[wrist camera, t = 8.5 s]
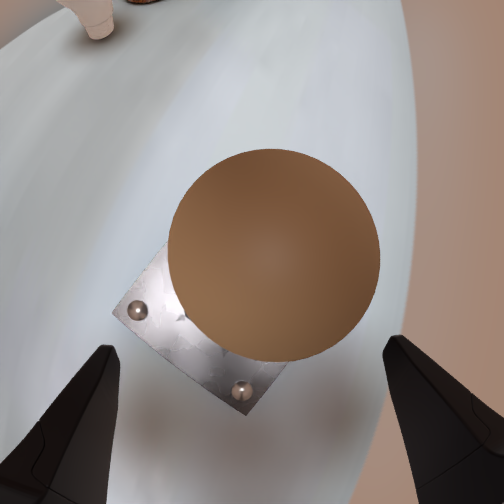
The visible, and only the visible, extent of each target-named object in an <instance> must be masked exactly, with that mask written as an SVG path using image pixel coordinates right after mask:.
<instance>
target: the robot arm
mask: <svg viewBox="0 0 504 504" xmlns="http://www.w3.org/2000/svg"><path fill="white" fill-rule="evenodd" d="M382 356H383V362H384V366H385V371H386V376H387V381H388V386H389V391H390V395H391V398H392V402H393V405H394V409H395V412H396V415H397V419H398V422H399V425H400V429H401V433H402V436H403V440H404V443H405V447H406V451H407V455H408V459H409V463H410V466H411V471H412V475H413V479H414V483H415V488H416V493H417V497H418V502H419V504H504V418H503V417H502V416H501V415H499V414H498V413H496V412H495V411H494V410H492V409H491V408H489V407H488V406H487V405H486V404H485V403H483V402H482V401H481V400H480V399H478V398H477V397H476V396H475V395H474V394H473V393H471V392H470V391H469V390H468V389H467V388H465V387H464V386H463V385H462V384H461V383H460V382H458V381H457V380H456V379H455V378H454V377H453V376H451V375H450V374H449V373H448V372H447V371H445V370H444V369H443V368H442V367H441V366H439V365H438V364H437V363H436V362H435V361H433V360H432V359H431V358H430V357H429V356H427V355H426V354H425V353H424V352H423V351H421V350H420V349H419V348H418V347H417V346H415V345H414V344H413V343H412V342H410V341H409V340H408V339H407V338H405V337H404V336H403V335H394V336H391V337H390V338H389V340H388V342H387V344H386V346H385V348H384V350H383V354H382ZM119 378H120V361H119V358H118V356H117V353H116V350H115V348H114V346H113V345H100V346H99V347H98V348H97V350H96V351H95V352H94V353H93V354H92V355H91V357H90V358H89V359H88V360H87V361H86V363H85V364H84V365H83V366H82V367H81V369H80V370H79V371H78V372H77V373H76V375H75V376H74V377H73V378H72V379H71V381H70V382H69V383H68V384H67V385H66V387H65V388H64V389H63V390H62V392H61V393H60V394H59V395H58V397H57V398H56V399H55V400H54V401H53V403H52V404H51V405H50V406H49V408H48V409H47V410H46V412H45V413H44V414H43V415H42V417H41V418H40V419H39V421H38V422H37V423H36V424H35V425H34V427H33V428H32V429H31V430H30V432H29V433H28V434H27V435H26V437H25V438H24V439H23V440H22V441H21V442H20V443H19V445H18V446H17V447H16V448H15V449H14V450H13V451H12V452H11V453H10V454H9V455H8V456H7V457H6V458H5V459H4V460H3V461H2V462H1V464H0V504H106V501H107V489H108V479H109V469H110V461H111V453H112V445H113V438H114V431H115V424H116V418H117V411H118V395H119Z"/></svg>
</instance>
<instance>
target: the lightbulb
mask: <svg viewBox="0 0 504 504" xmlns="http://www.w3.org/2000/svg"><path fill="white" fill-rule="evenodd" d="M56 1H57V2H58V3H60V4H62V5H63V6H65V7H67V8H69V9H71V10H72V11H73V12H74V13H75V14H76V16H77V17H78V19H79V21H80V23H81V24H82V25H83V26H85V28H86V31H87V33H88V35H89V37H90V38H92V39H102V38H105V37H106V36H108V35H109V34H110V33H111V32H112V31H113V29H114V23H113V17H112V13H113V5H112V0H56Z"/></svg>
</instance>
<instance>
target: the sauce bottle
mask: <svg viewBox="0 0 504 504" xmlns="http://www.w3.org/2000/svg"><path fill="white" fill-rule="evenodd" d="M128 1H131V2H137V3H142V4H143V3H148V2H151V1H156V0H128Z"/></svg>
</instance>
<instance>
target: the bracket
mask: <svg viewBox="0 0 504 504" xmlns="http://www.w3.org/2000/svg"><path fill="white" fill-rule="evenodd" d="M112 314H113V315H114V316H115V317H116V318H118V319H119V320H120V321H121V322H122V323H123V324H124V325H126V326H127V327H128V328H129V329H130V330H131V331H132V332H134V333H135V334H136V335H137V336H138V337H140V338H141V339H142V340H143V341H144V342H146V343H147V344H148V345H149V346H150V347H152V348H153V349H154V350H155V351H157V352H158V353H159V354H160V355H162V356H163V357H164V358H165V359H167V360H168V361H169V362H170V363H172V364H173V365H174V366H176V367H177V368H178V369H180V370H181V371H182V372H184V373H185V374H186V375H188V376H189V377H190V378H192V379H193V380H194V381H196V382H197V383H198V384H200V385H201V386H203V387H204V388H205V389H207V390H208V391H210V392H211V393H212V394H214V395H215V396H217V397H218V398H220V399H221V400H223V401H224V402H226V403H227V404H229V405H230V406H232V407H233V408H235V409H236V410H238V411H239V412H241V413H242V414H244V415H245V416H246V415H247V414H248V413H249V412H250V410H251V409H252V408H253V407H254V405H255V404H256V403H257V402H258V401H259V399H260V398H261V397H262V396H263V394H264V393H265V392H266V390H267V389H268V388H269V387H270V385H271V384H272V383H273V382H274V380H275V379H276V378H277V376H278V375H279V374H280V372H281V371H282V370H283V368H284V367H285V366H286V364H287V363H288V362H289V361H288V362H264V361H258V360H253V359H249V358H246V357H243V356H240V355H237V354H234V353H232V352H230V351H228V350H226V349H224V348H222V347H221V346H219V345H218V344H216V343H215V342H214V341H212V340H211V339H209V338H208V337H207V336H206V335H205V334H204V333H203V332H202V331H200V330H199V329H198V328H197V327H196V325H195V324H194V323H193V322H192V320H191V319H190V318H189V317H188V315H187V314H186V312H185V311H184V309H183V307H182V306H181V304H180V302H179V300H178V298H177V295H176V293H175V291H174V288H173V285H172V281H171V277H170V273H169V266H168V241H167V242H166V243H165V245H164V246H163V247H162V248H161V250H160V251H159V252H158V253H157V255H156V256H155V257H154V258H153V260H152V261H151V262H150V263H149V265H148V266H147V267H146V268H145V270H144V271H143V272H142V274H141V275H140V276H139V277H138V279H137V280H136V281H135V283H134V284H133V285H132V287H131V288H130V289H129V290H128V292H127V293H126V294H125V296H124V297H123V298H122V300H121V301H120V302H119V304H118V305H117V306H116V308H115V309H114V310H113V312H112Z"/></svg>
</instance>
